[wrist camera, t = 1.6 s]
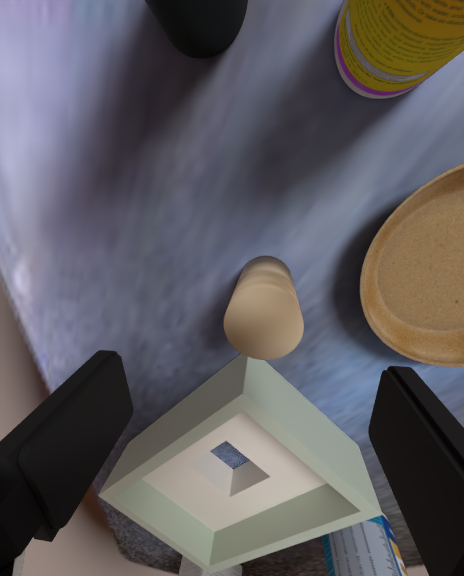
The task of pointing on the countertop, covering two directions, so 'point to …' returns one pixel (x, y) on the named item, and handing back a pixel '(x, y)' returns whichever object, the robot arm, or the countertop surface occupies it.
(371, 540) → the beverage bottle
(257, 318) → the peg
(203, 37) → the wine bottle
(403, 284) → the plant saucer
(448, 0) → the supplement bottle
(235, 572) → the skincare box
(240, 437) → the tray
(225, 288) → the countertop surface
